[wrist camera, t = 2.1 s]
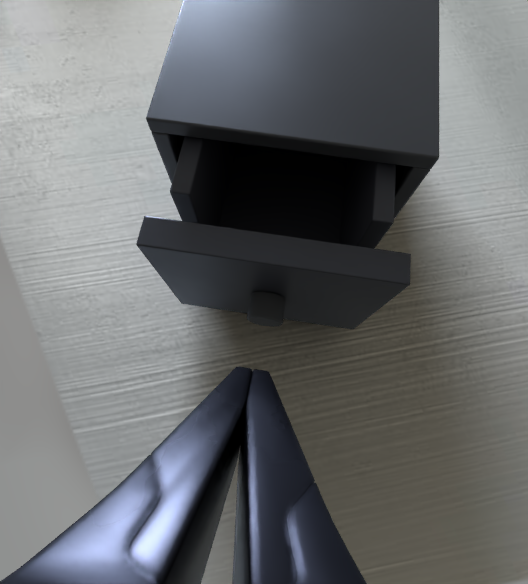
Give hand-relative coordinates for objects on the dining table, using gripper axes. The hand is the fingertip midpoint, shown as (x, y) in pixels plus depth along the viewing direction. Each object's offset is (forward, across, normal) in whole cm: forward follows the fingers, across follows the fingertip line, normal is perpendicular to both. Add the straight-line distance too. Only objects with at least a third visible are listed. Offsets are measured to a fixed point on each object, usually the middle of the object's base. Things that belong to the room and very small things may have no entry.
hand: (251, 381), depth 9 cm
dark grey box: (+18, 0, -3) cm, 18 cm away
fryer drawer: (+13, 0, +1) cm, 13 cm away
